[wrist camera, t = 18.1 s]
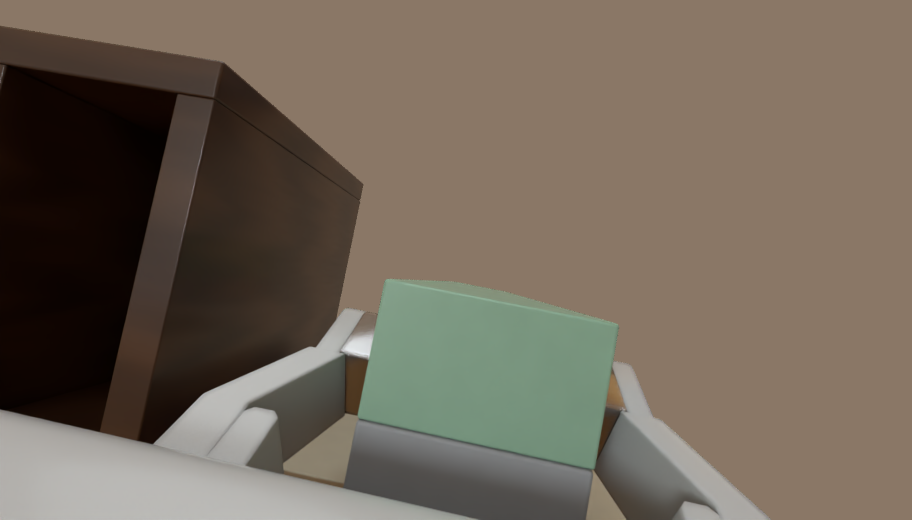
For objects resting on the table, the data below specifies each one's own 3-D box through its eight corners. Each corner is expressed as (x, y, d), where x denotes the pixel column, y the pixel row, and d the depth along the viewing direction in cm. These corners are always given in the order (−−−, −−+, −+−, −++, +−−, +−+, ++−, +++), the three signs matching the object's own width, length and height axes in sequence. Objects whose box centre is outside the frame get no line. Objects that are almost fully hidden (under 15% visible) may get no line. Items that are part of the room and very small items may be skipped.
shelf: (11, 1001, 10) (223, 60, 11) (-252, 915, 10) (-21, 21, 11) (283, 578, 24) (363, 183, 25) (166, 549, 24) (251, 163, 25)
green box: (578, 574, 6) (621, 324, 6) (335, 516, 6) (384, 278, 6) (495, 344, 28) (505, 291, 28) (443, 333, 28) (453, 281, 28)
